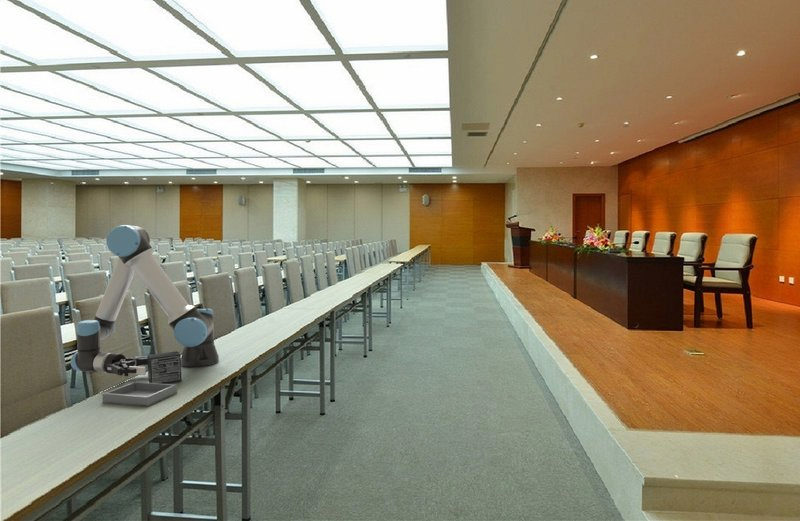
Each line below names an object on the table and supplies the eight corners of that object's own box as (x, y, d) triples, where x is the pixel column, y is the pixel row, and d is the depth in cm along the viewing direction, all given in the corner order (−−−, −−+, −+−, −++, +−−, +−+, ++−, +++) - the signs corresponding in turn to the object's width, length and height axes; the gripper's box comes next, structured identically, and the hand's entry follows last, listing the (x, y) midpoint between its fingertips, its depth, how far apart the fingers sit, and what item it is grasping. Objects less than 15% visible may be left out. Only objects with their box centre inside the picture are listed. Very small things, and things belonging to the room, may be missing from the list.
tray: (134, 390, 178) (134, 381, 177) (177, 393, 174) (176, 384, 173) (102, 402, 164) (102, 393, 164) (147, 406, 160) (147, 397, 160)
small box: (178, 377, 193) (177, 350, 193) (182, 381, 188) (181, 353, 187) (147, 382, 187) (146, 354, 187) (150, 386, 182) (149, 357, 181)
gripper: (135, 364, 205) (181, 367, 199) (83, 382, 180) (133, 386, 175) (134, 346, 204) (180, 348, 199) (82, 361, 180) (132, 364, 175)
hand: (158, 366), depth 187 cm, fingers open, 13 cm apart
